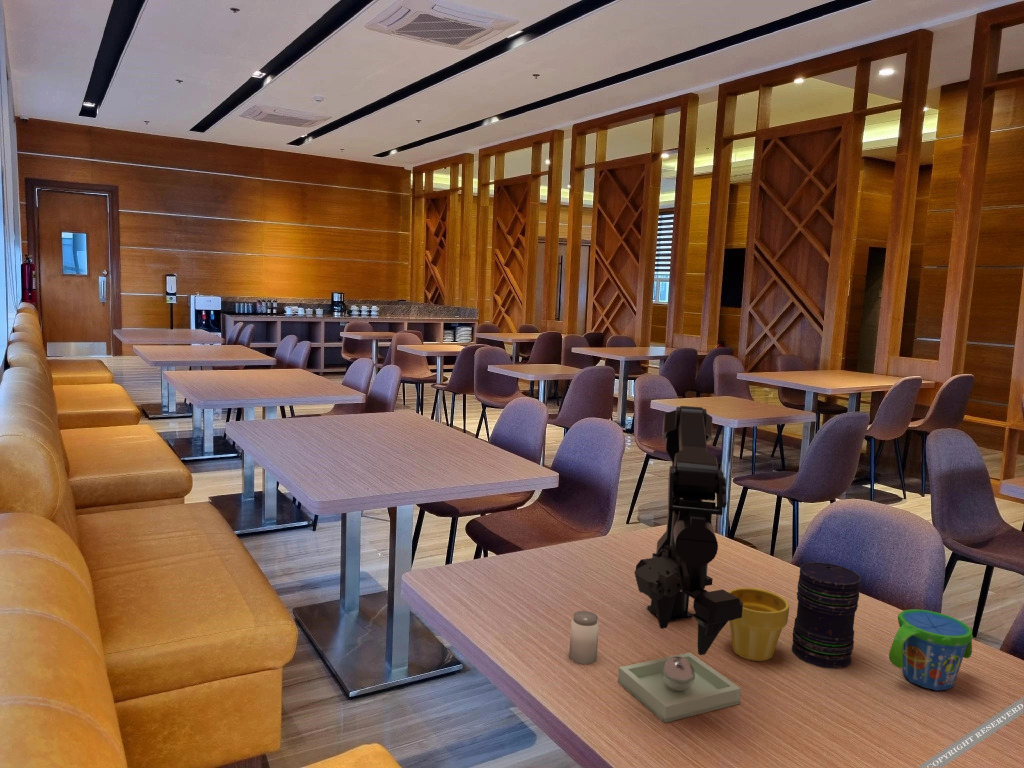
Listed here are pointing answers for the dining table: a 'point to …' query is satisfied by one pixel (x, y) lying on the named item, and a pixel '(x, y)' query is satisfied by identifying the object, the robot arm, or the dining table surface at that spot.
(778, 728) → the dining table surface
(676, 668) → the ball
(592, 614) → the shaker
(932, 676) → the snack cup
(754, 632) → the plant pot
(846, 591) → the storage jar
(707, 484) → the robot arm
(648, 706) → the tray
